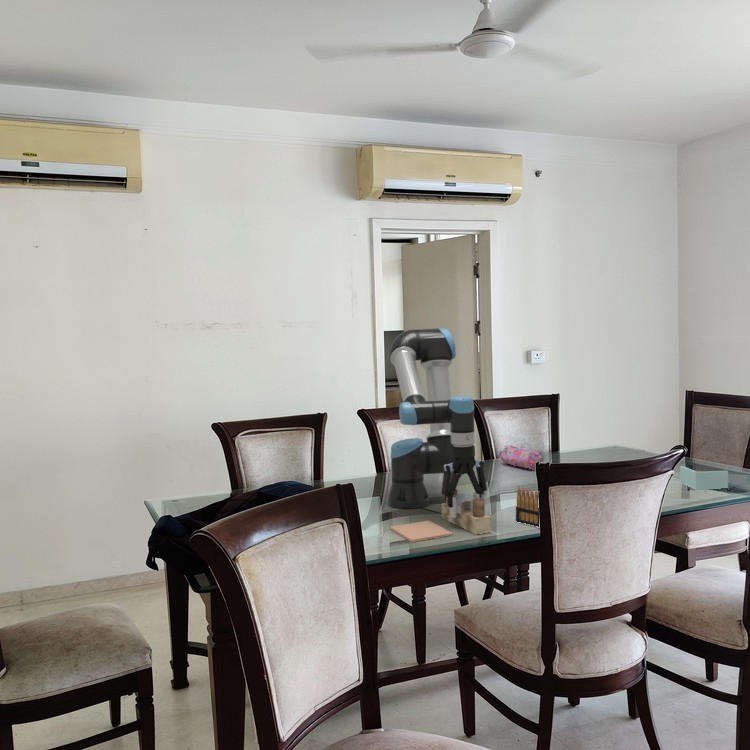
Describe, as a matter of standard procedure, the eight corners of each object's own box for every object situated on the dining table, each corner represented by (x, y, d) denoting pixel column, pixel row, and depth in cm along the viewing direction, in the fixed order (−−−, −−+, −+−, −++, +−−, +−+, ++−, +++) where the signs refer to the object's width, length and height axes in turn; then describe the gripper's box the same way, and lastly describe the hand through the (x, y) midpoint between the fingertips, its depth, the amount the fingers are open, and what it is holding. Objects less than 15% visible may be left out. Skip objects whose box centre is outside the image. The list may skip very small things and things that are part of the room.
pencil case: (498, 464, 316) (498, 445, 315) (514, 462, 320) (514, 443, 319) (528, 472, 297) (527, 451, 296) (545, 470, 300) (544, 449, 300)
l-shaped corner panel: (728, 491, 251) (728, 471, 251) (695, 492, 251) (695, 472, 251) (711, 484, 263) (711, 464, 263) (680, 485, 263) (680, 466, 263)
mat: (389, 529, 219) (389, 526, 219) (428, 522, 224) (428, 520, 224) (411, 542, 204) (411, 540, 204) (452, 535, 210) (452, 533, 209)
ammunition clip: (515, 522, 222) (514, 485, 221) (519, 521, 223) (518, 484, 222) (542, 529, 213) (541, 490, 212) (546, 527, 214) (545, 489, 214)
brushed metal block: (447, 508, 223) (446, 496, 222) (468, 505, 226) (468, 493, 225) (460, 514, 214) (460, 502, 214) (482, 511, 217) (482, 498, 217)
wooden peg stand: (442, 518, 230) (441, 488, 229) (455, 516, 231) (454, 486, 231) (476, 535, 209) (475, 502, 209) (490, 532, 211) (489, 500, 210)
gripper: (439, 449, 211) (441, 522, 213) (497, 443, 219) (499, 513, 221) (428, 446, 218) (430, 516, 220) (484, 440, 226) (486, 508, 228)
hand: (464, 515), depth 220 cm, fingers closed on brushed metal block, 8 cm apart
